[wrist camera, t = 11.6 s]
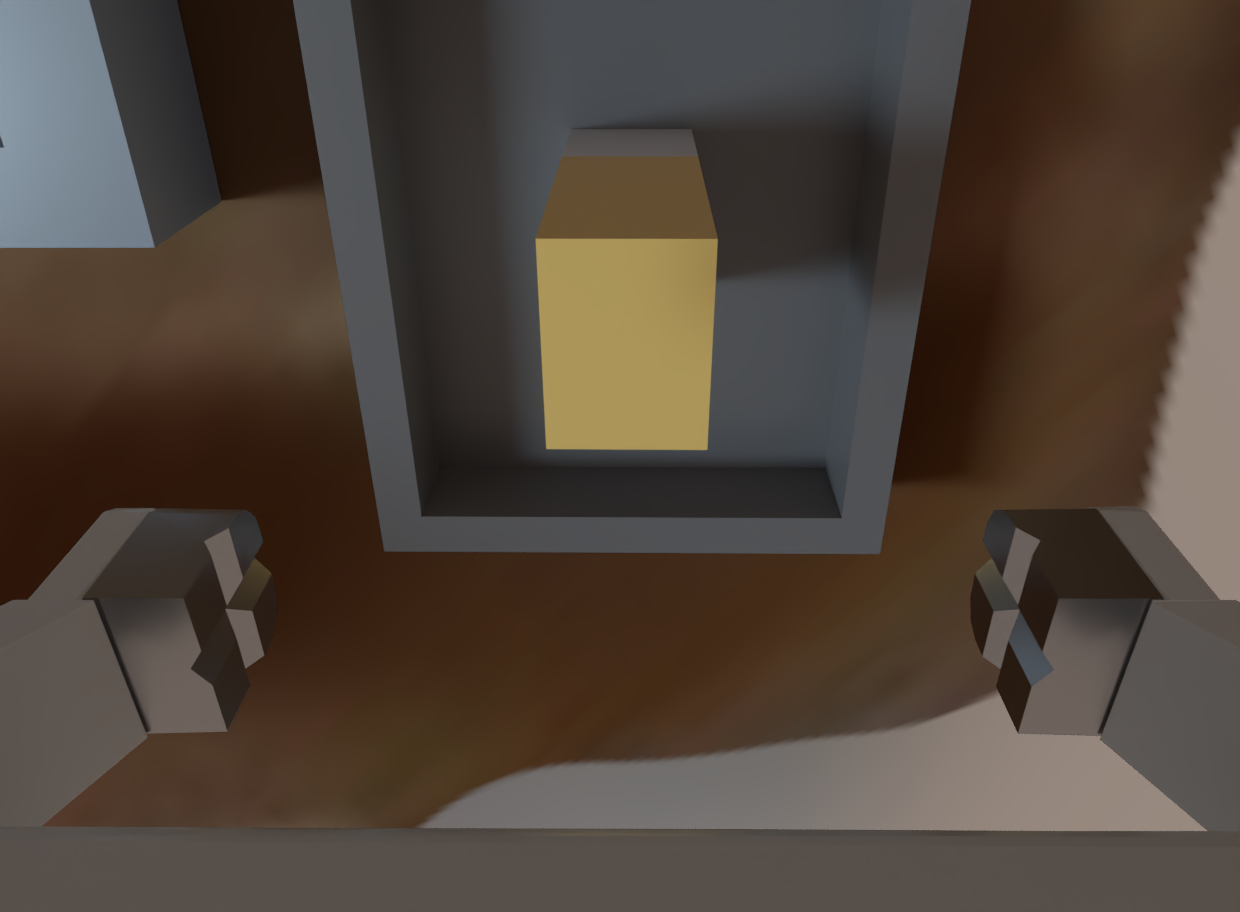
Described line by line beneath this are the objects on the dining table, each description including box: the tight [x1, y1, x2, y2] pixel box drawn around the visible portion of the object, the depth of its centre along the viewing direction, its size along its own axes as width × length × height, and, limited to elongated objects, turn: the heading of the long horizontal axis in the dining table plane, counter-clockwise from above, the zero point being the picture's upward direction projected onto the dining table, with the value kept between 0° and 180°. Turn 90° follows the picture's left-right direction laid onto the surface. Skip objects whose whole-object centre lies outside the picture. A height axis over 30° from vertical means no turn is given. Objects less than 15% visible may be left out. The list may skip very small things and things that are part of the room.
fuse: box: [536, 129, 718, 450], centre depth 20 cm, size 4×3×9 cm
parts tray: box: [293, 0, 971, 554], centre depth 23 cm, size 18×14×4 cm
